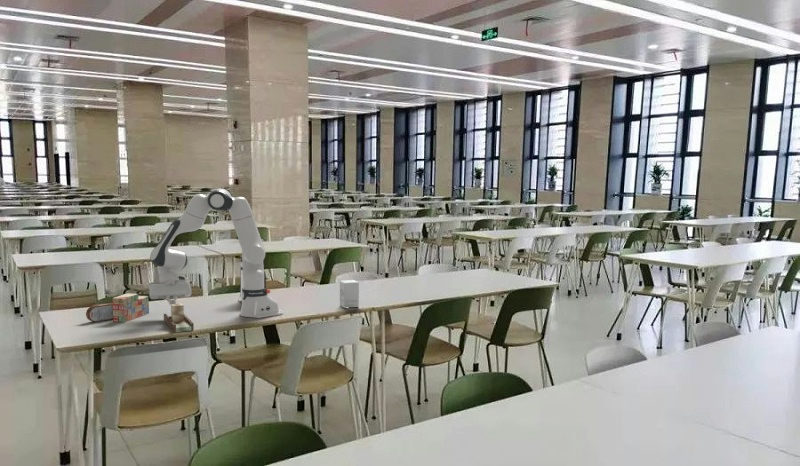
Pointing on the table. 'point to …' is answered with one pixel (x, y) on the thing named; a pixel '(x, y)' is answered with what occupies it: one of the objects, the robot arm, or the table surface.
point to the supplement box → (349, 293)
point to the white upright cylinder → (242, 279)
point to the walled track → (179, 324)
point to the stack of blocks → (129, 307)
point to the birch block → (177, 312)
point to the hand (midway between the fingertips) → (172, 303)
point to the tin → (100, 312)
